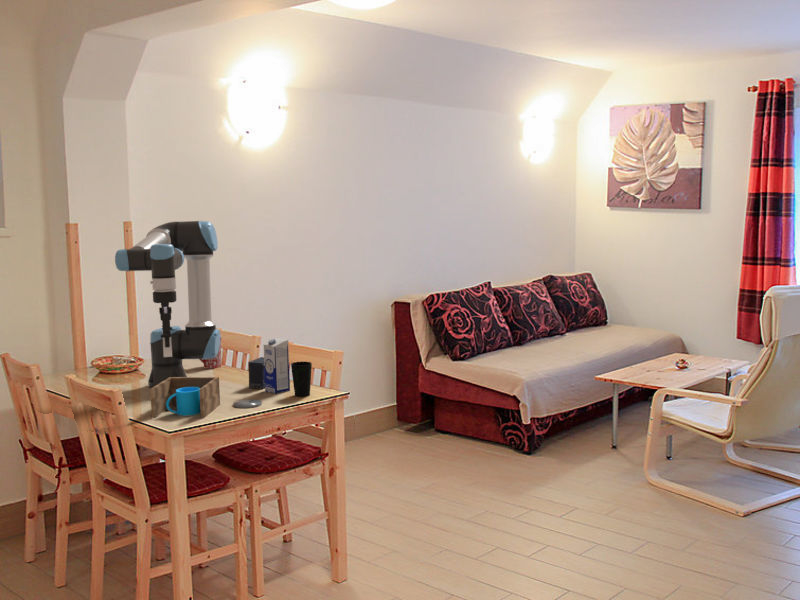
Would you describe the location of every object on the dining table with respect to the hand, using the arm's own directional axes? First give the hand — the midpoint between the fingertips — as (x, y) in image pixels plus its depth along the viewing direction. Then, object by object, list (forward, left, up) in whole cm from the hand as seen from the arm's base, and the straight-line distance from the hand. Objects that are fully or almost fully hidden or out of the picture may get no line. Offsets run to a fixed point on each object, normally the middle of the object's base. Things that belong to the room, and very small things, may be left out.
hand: (167, 353), depth 270 cm
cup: (-30, +39, -22) cm, 54 cm away
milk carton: (-37, +28, -22) cm, 51 cm away
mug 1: (-4, +3, -22) cm, 23 cm away
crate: (-7, +3, -22) cm, 23 cm away
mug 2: (-80, -13, -22) cm, 83 cm away
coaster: (-16, +22, -22) cm, 35 cm away
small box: (-45, +20, -22) cm, 54 cm away
